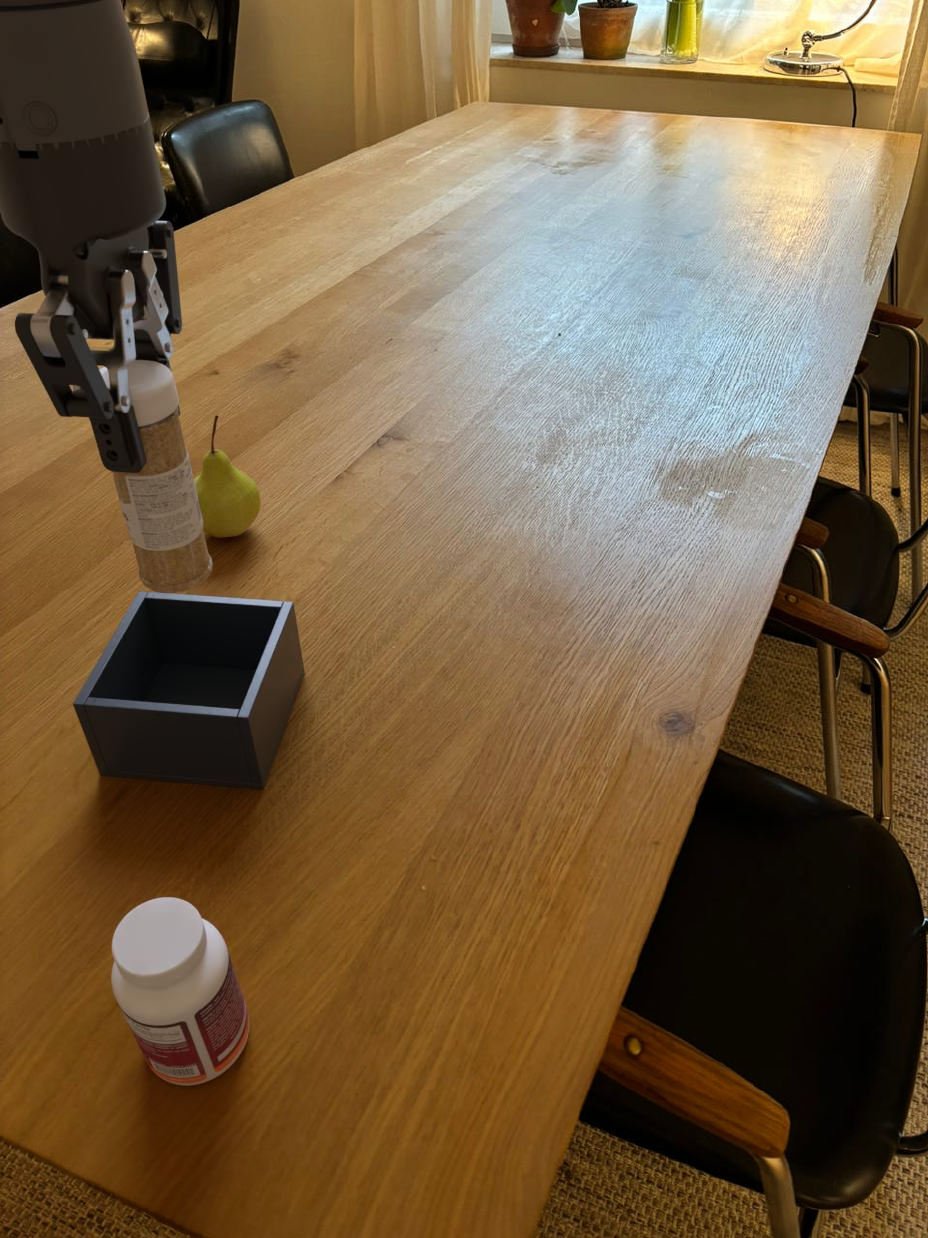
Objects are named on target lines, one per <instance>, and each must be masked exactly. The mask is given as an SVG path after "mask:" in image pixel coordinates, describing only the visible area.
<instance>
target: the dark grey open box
mask: <svg viewBox="0 0 928 1238" xmlns="http://www.w3.org/2000/svg"><path fill="white" fill-rule="evenodd" d="M295 609H296V608H295V604H294V601H284V600H275V599H274V600H273V599H272V600H271V599H257V598H242V597H230V596H229V597H228V596H212V595H200V594H199V595H198V594H186V593H185V594H184V593H160V592H156V591H142V590H141V591H140V590H139V591H137V593H136V594H135V597H134V599H133V600H132V602H131V603H130V605H129V607H128V608H127V610H126V612H125V614H124V615H123V617H122V619H121V620H120V622H119V624H118V626H117V627H116V629H115V632H114V633H113V634H112V636H111V638H110V640H109V641H108V643H107V644H106V647H104V650H103V652H101V654H100V657H99V658H98V660H97V661H96V664H95V665H94V667H93V669H92V670H91V672H90V674H89V675H88V677H87V679H86V680H85V682H84V684H83V685H82V687H81V689H80V691H79V692H78V694H77V696H76V698H75V699H74V701H73V703H72V706H73V708H74V711H75V714H76V716H77V719H78V722H79V724H80V727H81V729H82V732H83V734H84V737H85V740H86V743H87V746H88V748H89V750H90V753H91V755H92V757H93V758H92V759H93V761H94V764H95V766H96V769H97V771H98V774H99V776H105V777H114V778H115V777H116V778H127V779H137V780H147V781H148V780H151V781H162V782H174V783H184V784H193V785H195V784H196V785H205V786H218V787H219V786H220V787H230V788H239V789H241V788H242V789H253V790H265V787H266V785H267V781H268V779H269V776H270V773H271V770H272V767H273V764H274V761H275V758H276V755H277V754H278V750H279V747H280V744H281V741H282V738H283V735H284V732H285V730H286V727H287V723H288V722H289V718H290V715H291V713H292V710H293V707H294V704H295V701H296V698H297V696H298V692H299V689H300V686H301V684H302V680H303V678H304V675H305V665H304V659H303V654H302V653H303V652H302V647H301V641H300V634H299V629H298V621H297V617H296V615H297V614H296V610H295Z"/></svg>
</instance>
